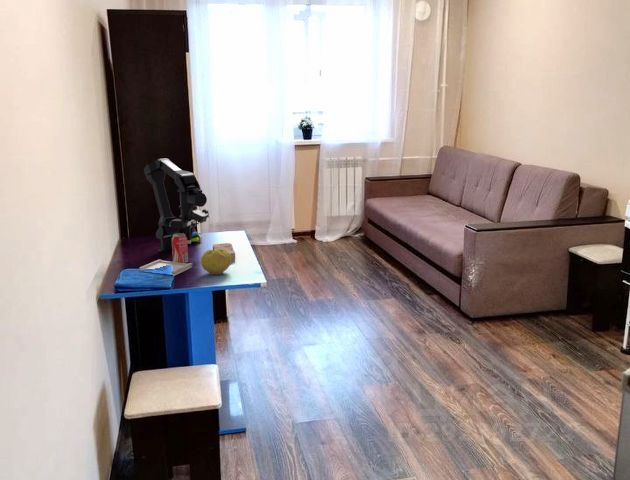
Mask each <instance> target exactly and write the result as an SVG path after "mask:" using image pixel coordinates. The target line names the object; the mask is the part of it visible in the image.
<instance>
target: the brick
mask: <svg viewBox="0 0 630 480" xmlns="http://www.w3.org/2000/svg"><path fill="white" fill-rule="evenodd" d="M232 244H233V243H230V242H224V243H216V244H214V243H213V244H212V250H213V251H214V250H216V249H224V250H226V251H228V252H229V253H230V255H231V258H232V259H231V263H235V262H236V251H235V250H234V247H233V245H232Z"/></svg>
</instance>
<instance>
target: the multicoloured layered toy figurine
mask: <svg viewBox="0 0 630 480" xmlns="http://www.w3.org/2000/svg"><path fill="white" fill-rule="evenodd" d="M182 233H183V232H182ZM183 234H184V233H183ZM202 241H203V237H202V235H201V234H199V233H198V232H197V231H196V229H195V228H194V230H193V234H192V238H191V240H187V244H190V245H192V242H196V243H198V242H200V243H201V242H202Z"/></svg>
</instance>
